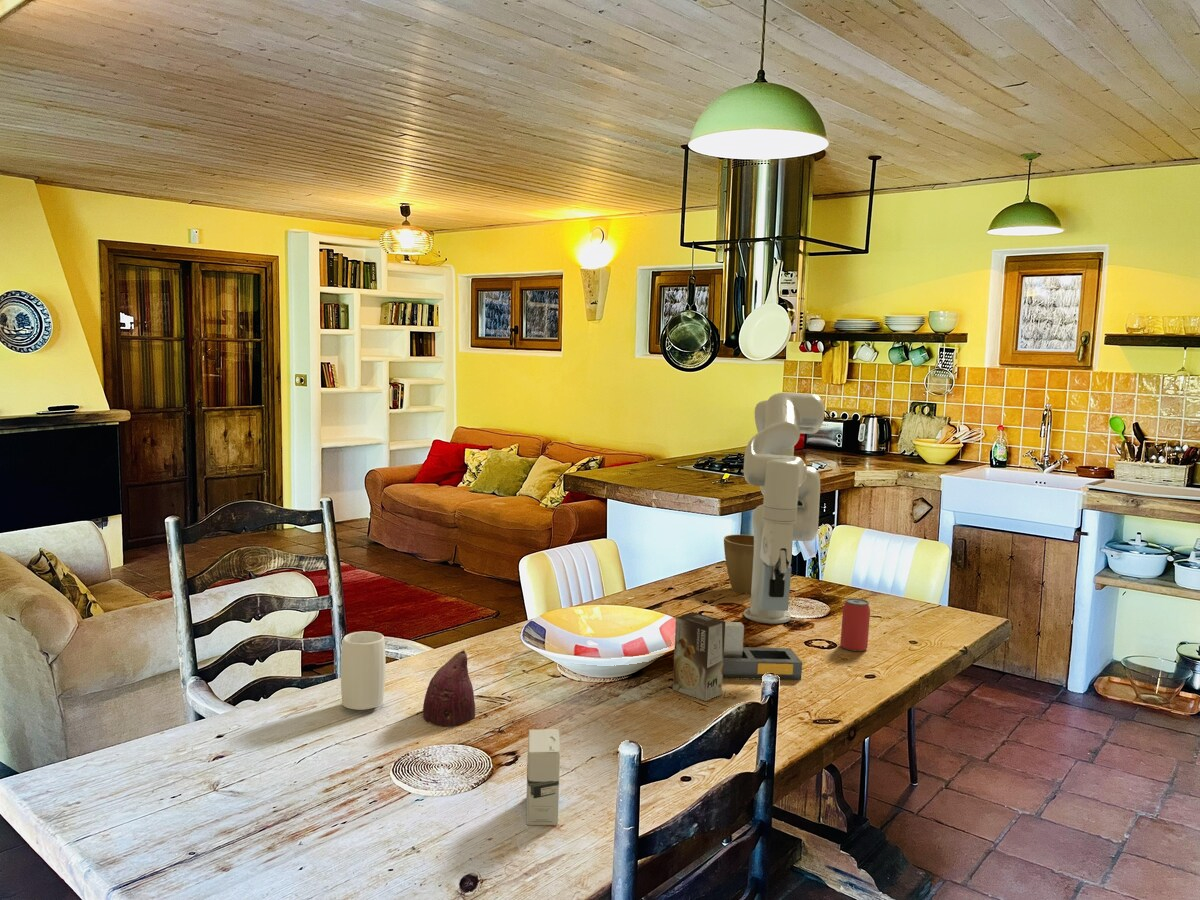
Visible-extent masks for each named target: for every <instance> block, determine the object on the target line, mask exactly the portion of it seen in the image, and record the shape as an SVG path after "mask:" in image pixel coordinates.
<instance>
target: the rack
mask: <svg viewBox="0 0 1200 900" xmlns="http://www.w3.org/2000/svg"><path fill="white" fill-rule="evenodd" d="M744 634H745V625H744V624H743V623H742V622H741V621H740V622H739V621H738V622H737V621H725V639H724V658H723V677H722V679H730V678H739V679H740V680H744V679H743V678H749V679H748V680H754V679H753V678H756V679H755V680H758V679H757V678H760V679H759V680H762V679H761V678H762V676H763V675H764V674H765V673H767V672H771V673H775V674H776V675H778V676H779V677H780V679H779V680H785V681H786V680H787V681H789V680H794V681H795V680H796V681H801V680H802V672H803V662H802V660H801V659H800V658H799V657H798V655H797V653H795V652H794V651H793V649H792V648H790V647H789V648H787V647H747V646H744V637H745V636H744ZM741 678H742V679H741Z"/></svg>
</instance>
